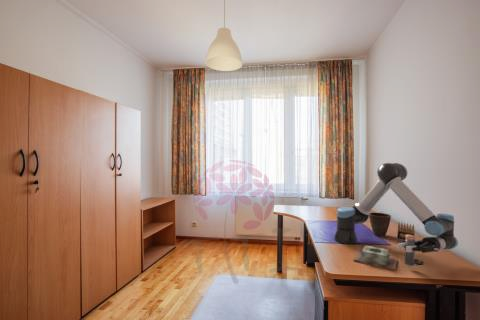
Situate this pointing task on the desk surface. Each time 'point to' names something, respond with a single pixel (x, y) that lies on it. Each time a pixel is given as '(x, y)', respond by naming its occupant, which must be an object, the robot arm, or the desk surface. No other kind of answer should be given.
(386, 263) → the socket
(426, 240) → the robot arm
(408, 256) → the peg
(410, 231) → the ammunition clip
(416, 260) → the blender logo cutout
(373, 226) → the plant pot
